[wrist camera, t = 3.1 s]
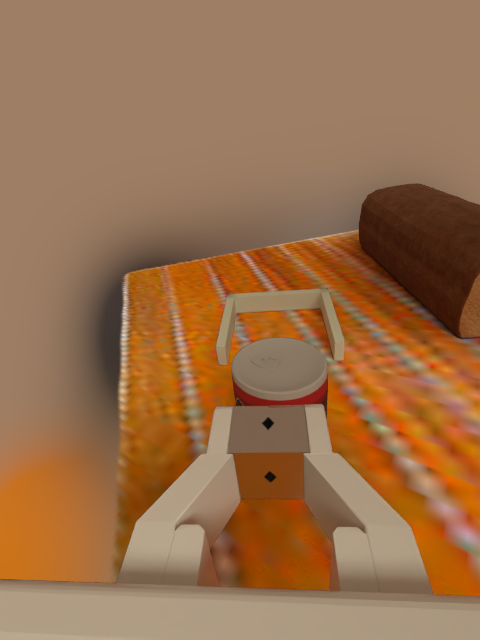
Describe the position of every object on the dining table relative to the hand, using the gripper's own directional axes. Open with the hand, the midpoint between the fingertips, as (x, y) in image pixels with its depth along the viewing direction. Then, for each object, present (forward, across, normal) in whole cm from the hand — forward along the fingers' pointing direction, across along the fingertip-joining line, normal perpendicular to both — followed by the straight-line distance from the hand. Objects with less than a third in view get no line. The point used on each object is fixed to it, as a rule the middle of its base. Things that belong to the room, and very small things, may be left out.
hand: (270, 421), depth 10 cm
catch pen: (+37, 0, +21) cm, 43 cm away
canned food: (+16, 0, +22) cm, 27 cm away
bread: (+53, -28, +22) cm, 64 cm away
